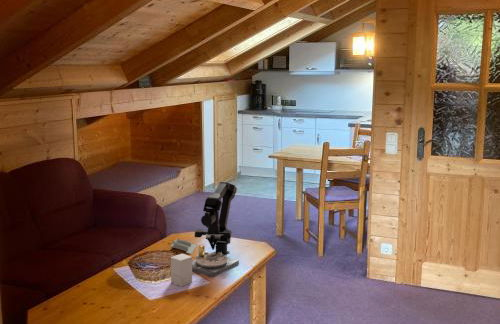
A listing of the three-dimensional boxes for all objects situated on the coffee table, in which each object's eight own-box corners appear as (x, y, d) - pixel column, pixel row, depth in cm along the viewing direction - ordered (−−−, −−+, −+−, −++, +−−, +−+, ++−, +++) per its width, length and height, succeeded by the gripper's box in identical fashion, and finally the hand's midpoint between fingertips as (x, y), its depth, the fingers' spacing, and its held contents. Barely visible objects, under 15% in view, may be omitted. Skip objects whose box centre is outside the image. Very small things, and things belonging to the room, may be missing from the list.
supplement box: (192, 282, 252) (192, 256, 250) (180, 286, 247) (180, 260, 245) (182, 277, 257) (182, 252, 255) (170, 282, 252) (170, 256, 250)
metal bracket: (169, 243, 290) (175, 235, 304) (166, 253, 291) (173, 244, 306) (194, 251, 289) (199, 243, 304) (191, 261, 290) (196, 252, 305)
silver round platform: (233, 260, 274) (233, 247, 273) (214, 270, 261) (214, 256, 260) (208, 254, 283) (208, 241, 282) (189, 263, 270) (189, 249, 269)
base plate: (210, 256, 287) (210, 252, 287) (238, 263, 277) (238, 259, 276) (182, 268, 269) (182, 264, 269) (212, 277, 259) (212, 272, 258)
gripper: (232, 217, 283) (232, 245, 285) (198, 215, 284) (198, 243, 287) (230, 223, 272) (230, 252, 274) (194, 221, 273) (194, 250, 276)
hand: (213, 249), depth 278 cm, fingers closed
